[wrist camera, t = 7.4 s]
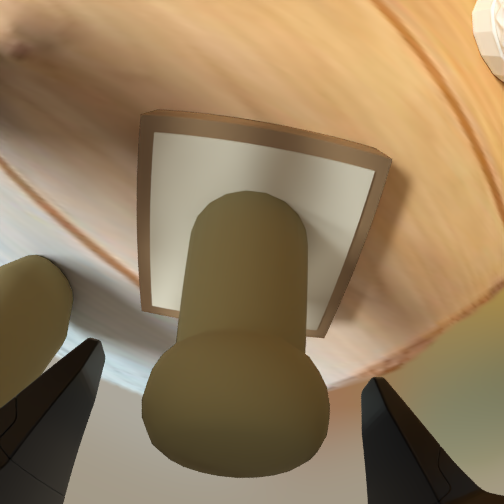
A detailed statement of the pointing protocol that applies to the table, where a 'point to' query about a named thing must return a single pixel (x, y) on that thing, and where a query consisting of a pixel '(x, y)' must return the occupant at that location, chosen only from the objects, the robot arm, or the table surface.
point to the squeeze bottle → (30, 320)
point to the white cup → (490, 33)
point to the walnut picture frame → (259, 180)
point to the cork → (240, 347)
